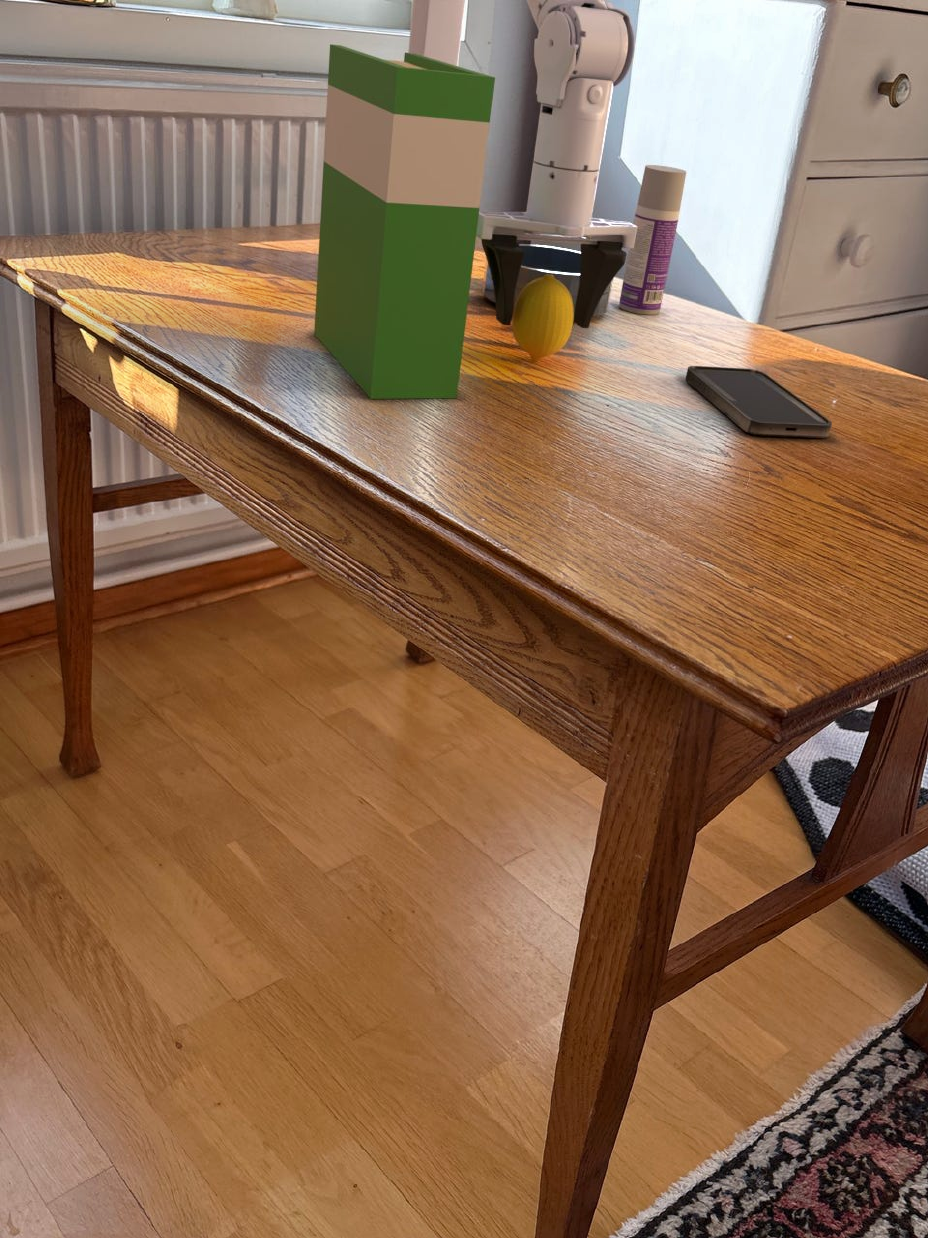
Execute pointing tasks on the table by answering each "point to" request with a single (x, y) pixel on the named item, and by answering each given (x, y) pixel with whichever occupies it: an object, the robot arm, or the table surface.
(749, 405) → the phone
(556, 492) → the table surface
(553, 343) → the lemon
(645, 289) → the container
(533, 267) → the bowl
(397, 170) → the green cereal box
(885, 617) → the table surface
